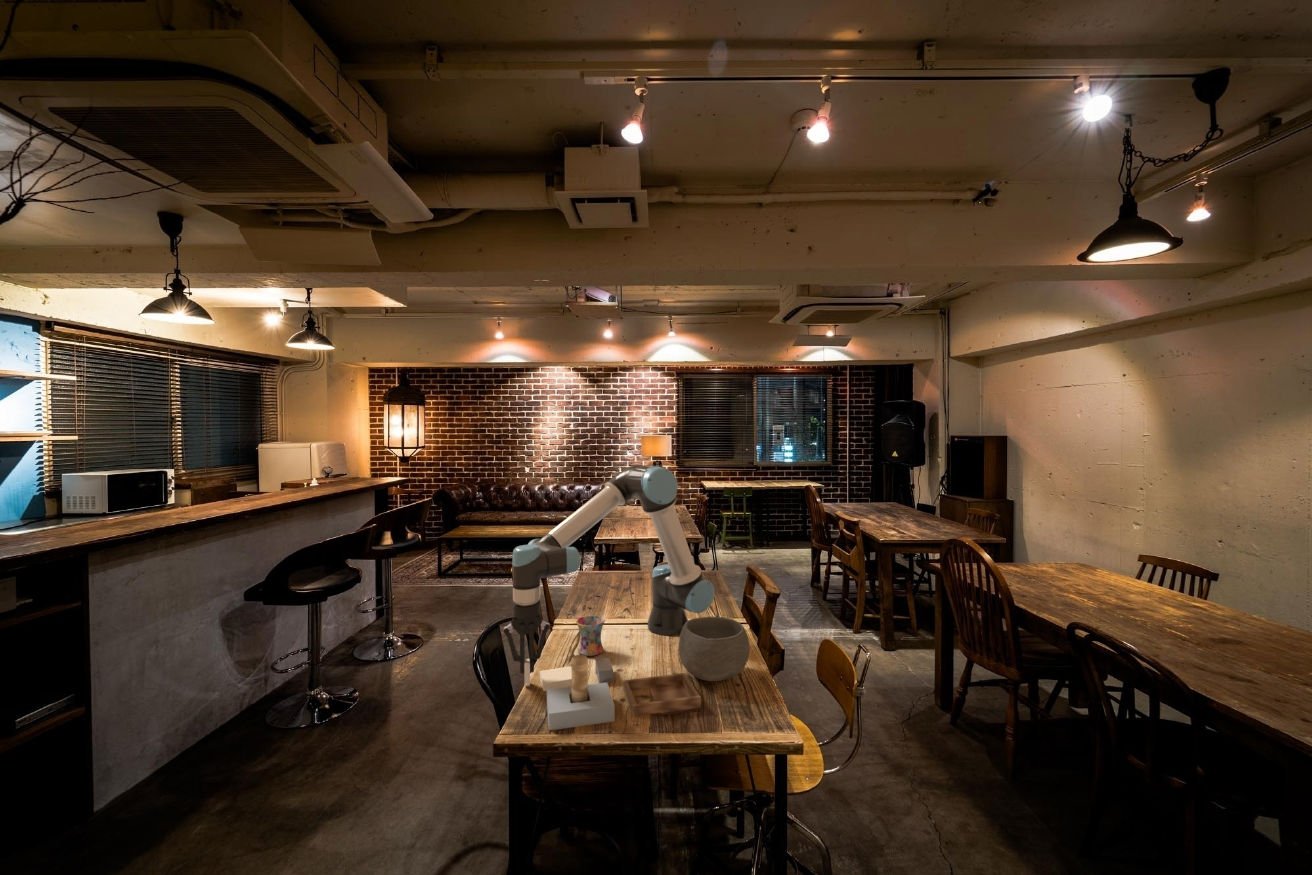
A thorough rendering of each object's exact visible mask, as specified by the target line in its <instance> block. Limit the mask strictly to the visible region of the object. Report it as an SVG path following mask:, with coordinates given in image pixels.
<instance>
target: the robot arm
mask: <svg viewBox="0 0 1312 875" xmlns="http://www.w3.org/2000/svg"><path fill="white" fill-rule="evenodd" d="M678 484H679V483H678V480H677V478H676V476H675V475H674V473H673V472H672V471H671V470H669V469H668V468H666V467H662V466H659V465H654V466H653V465H652V466H651V465H642V464H635V465H631V466H628V467H626V468H625V469H623V470H621V471H620V472H619V473H617V474H616V475H614V476H613V477H612V478H611V479H609V480H608V481H607V482H605V484H604V488H603V489H601V491H599V492H598V493H596V494H595V495H594V496H593V497H591V498H590V499H589V500H588V501H586V502H585V503H584V504H583V505H581V506H580V507H579V508H578V509H576V511H574V512H572V513H571V514H570V515H569V516H568V517H567V518H566V519H564V520H563V521H561V522H559V524H558V525H557V526H555V527H554V528H553V529H552V530H550V531H549V532H548V533H546V534H544V536H543V537H541V538H535V539H532V540H530V541H529V542H528V544H523V545H519V546H516V547H515V548H513V551H512V563H511V565H512V601H513V603H512V619H511V622H510V623H508V624H507V625H505V626H504V627H503V633H504V634H505V636H506V637H507V640H508V644H509V647H510V652H511V656H512V660H513V661H514V662H519V667H520V668H519V672H520V674H521V675H522V674H524V678H523V679H524V686H525V685H526V683H527V685H526V686H525V687H530V686H531V674H533V673H534V671H535V661H536V660H540V659H541V657H542V653H543V649H544V648H543V647H544V644H545V639H546V635H547V632H548V631H549V629H550V627H551V626H550V622H549V621H545V620H543V617H542V616H541V601H540V600H541V579H542V578H549V577H555V576H561V575H568V574H573V573H574V572H577V571H578V570H579V568H580V566H581V556H580V552H579V551H578V549H577V548H576V547H574V546H571V545H572V544H573V543H574V542H576V541H577V540H578V539H579V538H580V537H582V536H583V535H584V534H586V532H588V531H589V530H590V529H592V528H593V527H594V526H595V525H596V524H598V523H599V522H600V521H601V520H602V519H604V518H605V517H606V516H607V515H608V514H610V513H611V512H612V511H613V510H614V509H616V508H617V507H618V506H625V505H626V504H627V503H628V502H629V501H632V500H639V503H640V506H641V508H642V510H643V513H645V514H648V515H649V516H650V518H651V522H652V524H653V527H654V530H655V533H656V536H657V538H658V540H659V542H660V546H661V549H662V551H663V554H664V556H665V560H666V561H667V563H666V564H662V565H657V566H655V567H653V569H652V575H651V579H652V581H651V582H652V595H651V596H652V598H651V599H652V605H651V606H652V608H651V610H650V612H649V617H648V620H647V630H648V631H650V632H651V633H653V634H656V635H664V636H674V635H675V636H676V635H680V634H681V631H682V628H683V626H684V624H685V623H686V622H687V621H688V620H689V618H688V616H687V613H686V611H688V612H690V613H694V614H701V613H704V612H705V611H706V610H708V608H709V607H710V606H711V605H712V604H713V601H714V597H715V588H714V585H713V583H712V582H711V581H710V580H709V579H705V577H704V574H703V571H702V569H701V567H700V566H699V565H697V564H695V561H694V559H693V556H692V553H691V550H690V547H689V545H688V542H687V539H686V536H685V534H684V531H683V528H682V525H681V523H680V522H681V521H680V519H679V516H678V513H677V510H676V508H675V504H676V502H677V497H676V496H677V494H678V489H679V485H678ZM539 627H540V635H539V638H538V643H537V648H536V652H535V641H534V640H535V633H536V632H537V630H538V629H539ZM513 629H514V630H515V632H516V633H517V634H518V635H519V653H518V650H517V646H516V642H515V638H514V635H513V631H514V630H513ZM526 635H529V636H528V637H529V639H528V640H529V658H525V657H526V656H525V652H526V651H525V649H526V648H525V636H526Z"/></svg>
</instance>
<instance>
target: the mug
mask: <svg viewBox="0 0 1312 875" xmlns="http://www.w3.org/2000/svg"><path fill="white" fill-rule="evenodd" d="M605 621H606V620H605V617H602V616H600V615H585V616H584V615H583V616H581V617H579V618H577V619H576V621H575V622H576V625H577V629H578V631H579V639H580V640H579V646H578V648H577V653H578V655H584V656H586V657H593V656H598V655H600V654H601V653H603V652H604V646H603V644H602V629H603V627H604V623H605Z"/></svg>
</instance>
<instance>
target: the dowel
mask: <svg viewBox="0 0 1312 875" xmlns="http://www.w3.org/2000/svg"><path fill="white" fill-rule="evenodd" d="M571 666H572V703H578V702H586V701H588V693H587V685H588V656H584V655H581V654H578V655H573V656H572V657H571Z"/></svg>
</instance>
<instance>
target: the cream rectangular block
mask: <svg viewBox="0 0 1312 875" xmlns="http://www.w3.org/2000/svg"><path fill="white" fill-rule="evenodd" d="M539 681H540V684H541V687H542V690H543V692H547V690H548V689H557V688H565V687H572V665H571V666H570V665H569V666H563V667H557V668H552V669H546V670H540V671H539Z"/></svg>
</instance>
